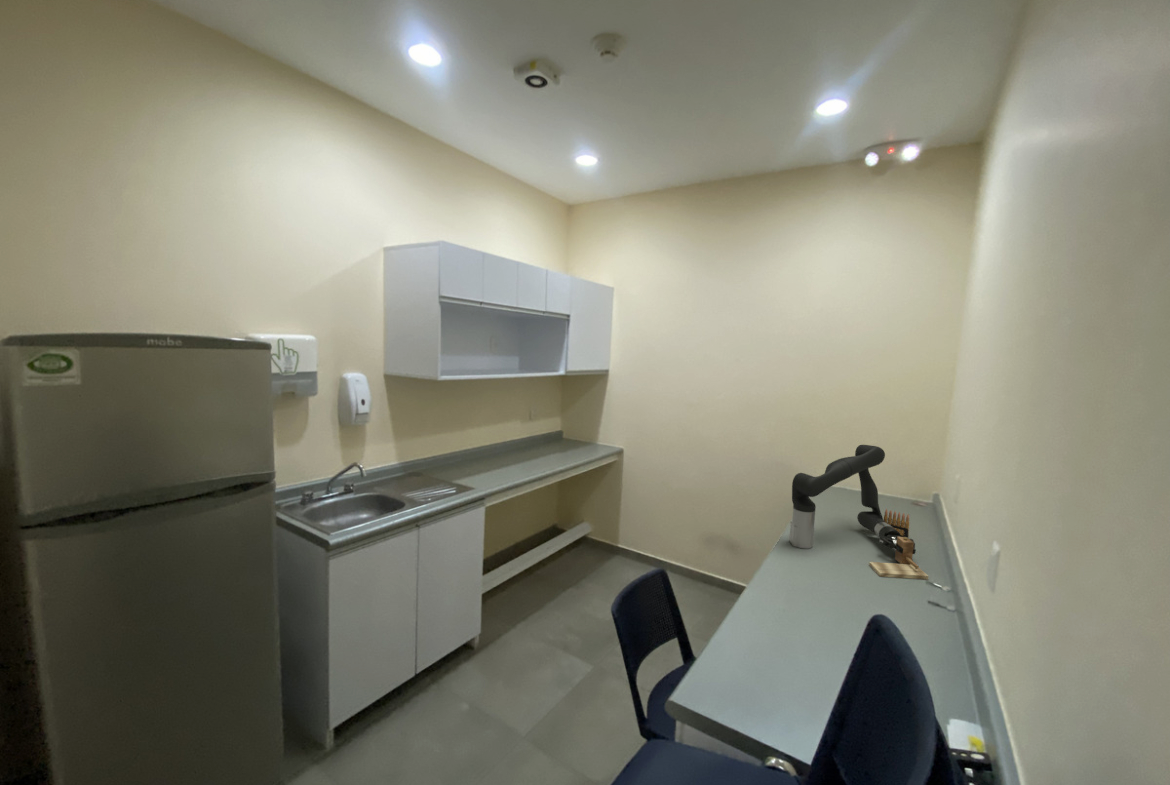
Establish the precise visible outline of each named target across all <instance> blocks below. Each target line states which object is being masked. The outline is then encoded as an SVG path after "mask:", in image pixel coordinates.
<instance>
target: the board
mask: <svg viewBox="0 0 1170 785" xmlns="http://www.w3.org/2000/svg"><path fill="white" fill-rule="evenodd" d="M868 564H869V565H868V566H870V568H871V569H872V570H873V571H874V572H875V573H876V574H877V575H878V577H883V578H899V579H915V580H927V581H928V580H929V575H928V574H927V573H926V572H925V571H924V570H922V569H921V568H920V567H919V568H917V569H915V567H914V566H913V565H912V564H900V563H895V562H891V563H890V562H876V561H869V563H868Z"/></svg>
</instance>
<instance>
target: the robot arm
mask: <svg viewBox="0 0 1170 785" xmlns="http://www.w3.org/2000/svg"><path fill="white" fill-rule="evenodd" d="M854 453H855V454H854V455H853V456H847V457H841V458H838V459H836V460H834V461H831V462H830V463H828V465H827V466H826V468H825V471H824V473H822V474H820V475H819V476H813V475H810V474H808V473H805V472H804V473H803V472H799V473H796V474H795V476H793V479H792V484H791V500H792V505H793V506H792V519H791V521H790V528H789V542H790V543H791V545H792V546H793V547H795V548H800V549H807V550H808V549H811V548H813V546H814V536H815V535H814V531H815V523H816V522H815V520H816V503H815V502H814V501H813V500H812V499H811V498H814V497H816V496H819V495H821V494H822V493H823V492H825V491H826V490H828V489H829V488H831V487H832V486H835V485H836V484H838V483H840V482H843V481H845V480H847V479H848V478H850V477H852V476H854V475H856V474H858V477H859V482H860V495H861V496H860V497H861V499H860V500H861V501H860V503H861V505H862V506H863V507H865V508H870V509H871V511H867V510H866V511H860V512H859V513H858V514H857V521H858V523H859V524H860V525H861V527H863V528H865V529H867V530H868V531H869V530H870V531H872V532H874V534H875V535H876V536H877V537H878V538H879V543H880V544H881V545H883V546H885V547H886V548H888V549H889V550H890V549H891V550H892V549H893V550H895V551H896V550H897V551H898V552H900V553H903V548H902V547H901V546H899V545H898V544H897V537H902V536H901V534H900V533H899V532H898V531H897V530H896V529H894V528H893V527H892V526H891V525H889V524H887V523H888V522H887V523H886V522H885V521H884V516H883V514H882V513H881V509H880V506H879V505H880V504H879V492H878V487H877V485H876V483H875V481H874V479H873V478H872V475H871V473H870V470H869V469H870V468H873V467H876V466H879V465H881V464H882V463H883V461H884V460H885V457H886V453H885V451H884V449H883V448H881V447H879V446H876V445H871V444H870V445H869V444H860V445H858V446H856V448H855V452H854ZM909 539H910V540H911V541H912V542H914V546H913V555H915V554H916V543H915V541H914V539H912V538H909Z"/></svg>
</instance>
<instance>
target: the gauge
mask: <svg viewBox="0 0 1170 785" xmlns="http://www.w3.org/2000/svg"><path fill="white" fill-rule="evenodd" d="M910 539H911V538H909V537H897V544H898V545H899V546H901V547H902V548H903V553H900V552H898V551H897V550H895V553H894V554H895V556H894V559H895V561H897V562H898V564H911V565H913V566H914V567H915V569H917V568H920V567H919V565H918V564H917V563H916V562H914V561H913V556H914V554H913V546H914V543H915V541H914V542H912V541H911V540H910Z"/></svg>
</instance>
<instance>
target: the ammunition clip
mask: <svg viewBox="0 0 1170 785" xmlns="http://www.w3.org/2000/svg"><path fill="white" fill-rule="evenodd" d="M905 517H906V518H905ZM883 520H884V521H885V522H886V523H887V524H889V525H891V526H892V527H893V528H894V529H896V530H897V531H898V532H899V533H900V534H901V536H902V537H908V538H909V537H910V536H909V533H910V530H909V529H910V515H909V514H906V515H905V513H904V512H903V513H902V516H901V512H900V511H899V512H898V513H897V512H896V510H895V511H894V512H892V509H890V511H889V513H888V508H887V509H885V511H884V516H883Z"/></svg>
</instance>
